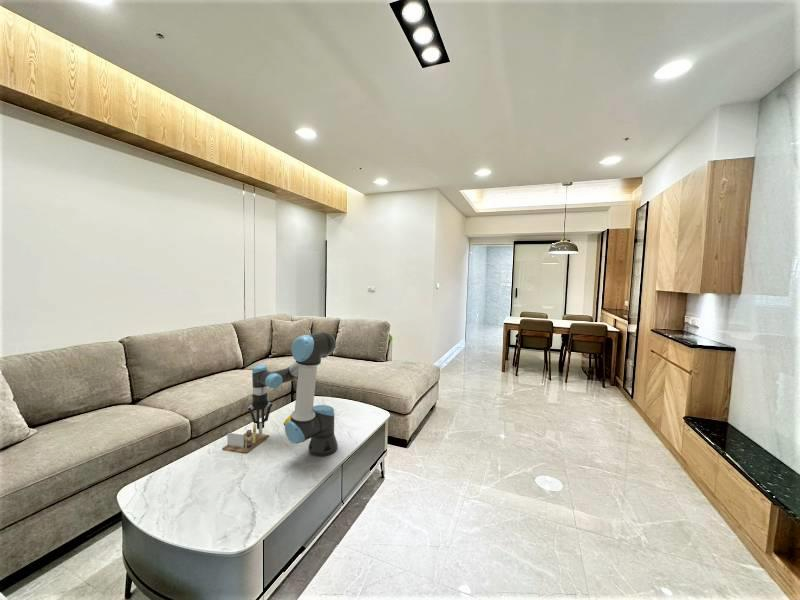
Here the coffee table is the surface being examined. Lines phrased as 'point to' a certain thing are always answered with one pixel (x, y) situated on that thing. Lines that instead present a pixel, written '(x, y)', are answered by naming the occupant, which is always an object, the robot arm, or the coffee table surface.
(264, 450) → the coffee table surface
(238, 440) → the fixed leaf
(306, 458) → the coffee table surface
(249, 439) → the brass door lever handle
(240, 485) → the coffee table surface
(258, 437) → the walnut board
